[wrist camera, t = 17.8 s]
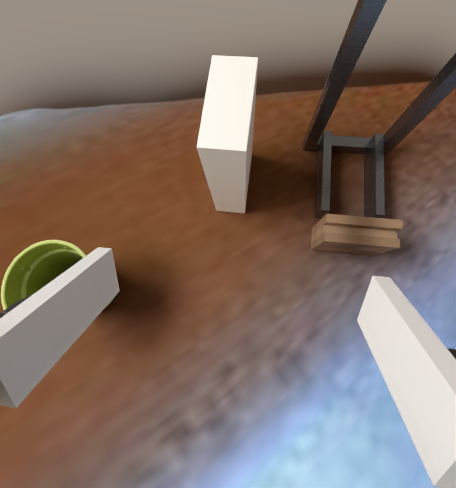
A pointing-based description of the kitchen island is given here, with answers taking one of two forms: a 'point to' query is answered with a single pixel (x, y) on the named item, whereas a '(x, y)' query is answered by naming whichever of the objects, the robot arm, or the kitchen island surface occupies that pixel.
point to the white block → (228, 130)
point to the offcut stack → (356, 234)
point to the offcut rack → (379, 145)
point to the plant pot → (37, 269)
